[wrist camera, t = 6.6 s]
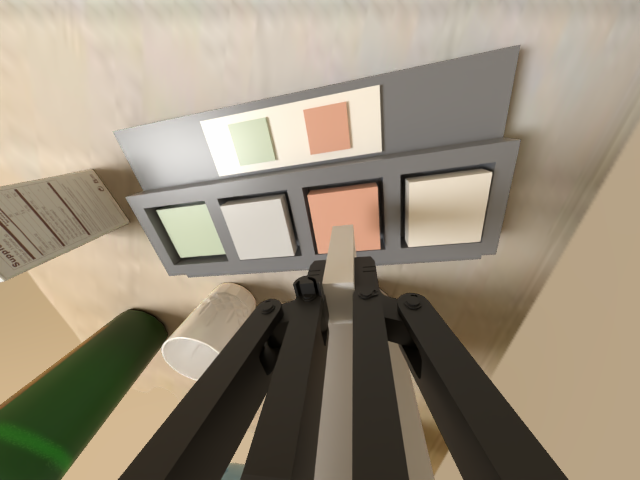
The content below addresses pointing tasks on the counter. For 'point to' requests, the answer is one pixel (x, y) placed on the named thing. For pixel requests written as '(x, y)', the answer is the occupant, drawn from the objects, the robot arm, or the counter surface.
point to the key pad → (332, 157)
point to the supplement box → (53, 219)
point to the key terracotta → (346, 214)
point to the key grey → (260, 227)
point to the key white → (446, 207)
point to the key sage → (191, 229)
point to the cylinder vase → (337, 411)
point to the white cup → (208, 330)
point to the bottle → (74, 398)
